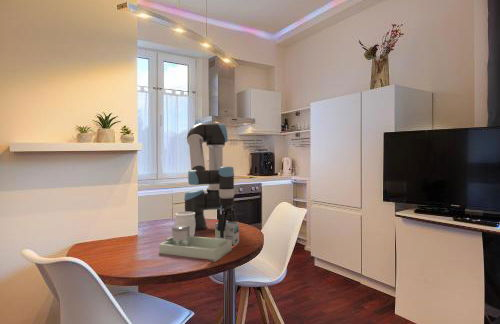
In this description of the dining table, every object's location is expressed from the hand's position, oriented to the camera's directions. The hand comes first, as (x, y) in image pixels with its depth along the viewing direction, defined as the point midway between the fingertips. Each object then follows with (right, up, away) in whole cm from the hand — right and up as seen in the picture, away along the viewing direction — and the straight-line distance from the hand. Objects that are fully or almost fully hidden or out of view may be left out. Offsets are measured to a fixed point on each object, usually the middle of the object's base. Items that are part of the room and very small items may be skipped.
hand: (227, 241), depth 157 cm
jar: (-22, -1, +4) cm, 22 cm away
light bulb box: (0, -1, 0) cm, 1 cm away
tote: (-13, -1, -15) cm, 20 cm away
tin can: (-21, -1, -12) cm, 24 cm away
